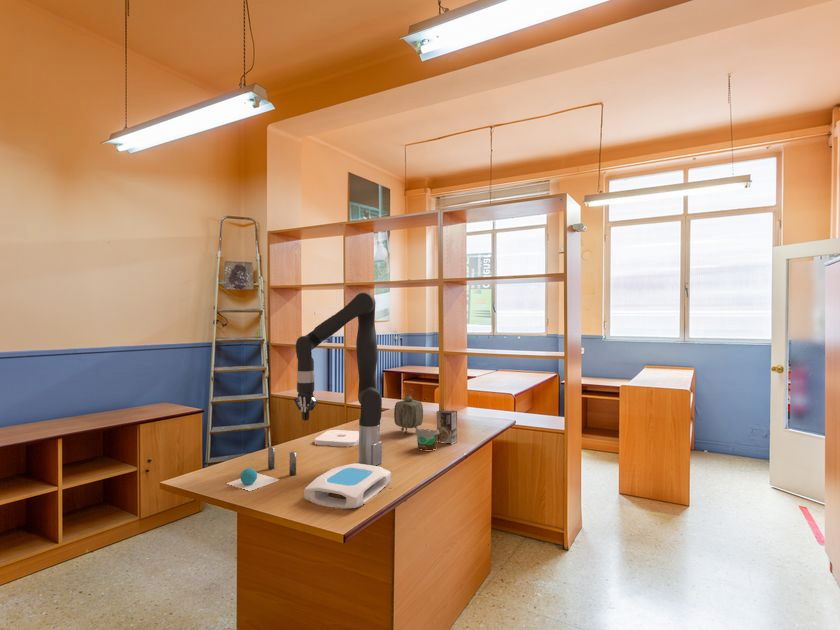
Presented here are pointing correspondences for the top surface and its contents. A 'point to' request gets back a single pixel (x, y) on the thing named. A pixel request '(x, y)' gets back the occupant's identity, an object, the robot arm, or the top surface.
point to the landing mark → (259, 482)
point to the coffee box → (447, 425)
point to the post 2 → (292, 464)
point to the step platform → (347, 485)
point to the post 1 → (271, 457)
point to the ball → (248, 476)
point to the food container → (427, 438)
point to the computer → (338, 438)
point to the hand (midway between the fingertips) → (305, 420)
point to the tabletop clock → (408, 412)
